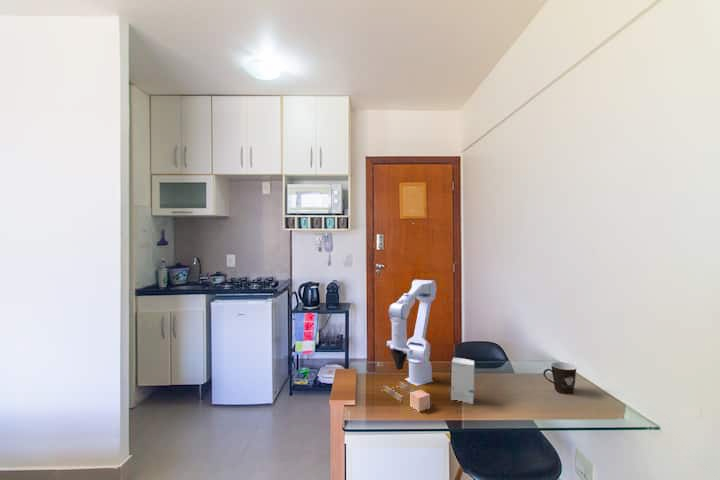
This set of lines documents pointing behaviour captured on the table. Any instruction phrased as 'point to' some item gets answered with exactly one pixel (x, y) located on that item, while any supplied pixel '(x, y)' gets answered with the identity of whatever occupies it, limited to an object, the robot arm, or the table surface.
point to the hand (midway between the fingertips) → (399, 368)
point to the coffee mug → (563, 377)
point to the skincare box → (462, 380)
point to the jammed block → (419, 400)
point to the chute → (395, 394)
